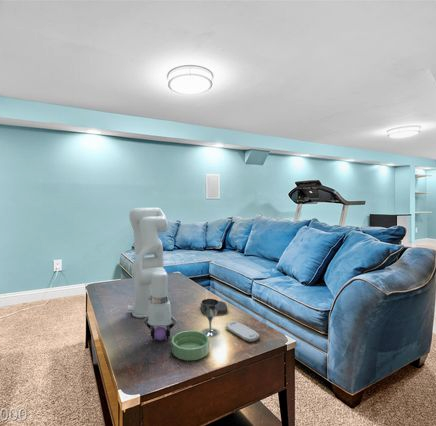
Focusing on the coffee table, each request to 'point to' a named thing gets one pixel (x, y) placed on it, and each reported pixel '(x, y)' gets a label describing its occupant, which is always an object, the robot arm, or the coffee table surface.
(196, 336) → the bowl
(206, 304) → the wine glass
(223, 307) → the media streaming box
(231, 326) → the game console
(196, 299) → the coffee table surface
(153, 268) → the robot arm
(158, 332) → the ball
